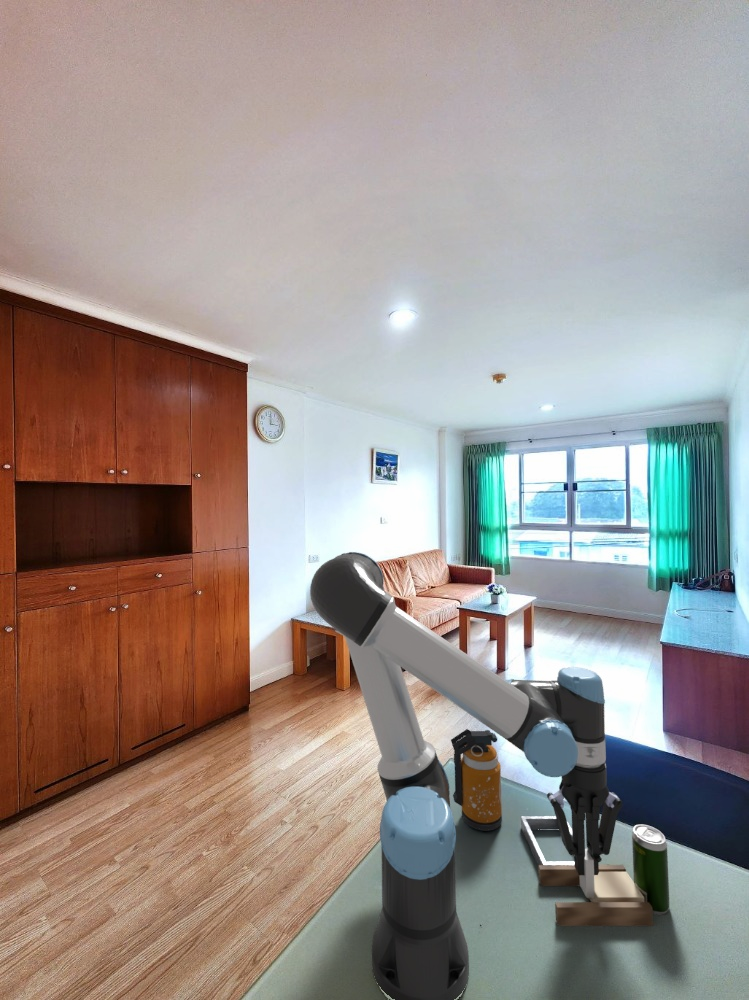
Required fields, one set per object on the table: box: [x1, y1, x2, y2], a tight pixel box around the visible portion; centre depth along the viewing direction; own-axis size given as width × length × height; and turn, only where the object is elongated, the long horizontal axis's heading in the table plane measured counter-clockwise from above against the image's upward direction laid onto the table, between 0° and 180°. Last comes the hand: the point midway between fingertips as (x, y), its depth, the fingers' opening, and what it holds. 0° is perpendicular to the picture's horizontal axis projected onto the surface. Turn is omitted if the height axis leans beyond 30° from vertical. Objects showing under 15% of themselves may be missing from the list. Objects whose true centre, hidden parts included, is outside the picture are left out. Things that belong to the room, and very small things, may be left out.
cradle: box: [520, 815, 574, 866], centre depth 90 cm, size 14×10×2 cm
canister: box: [450, 728, 503, 831], centre depth 100 cm, size 9×11×20 cm
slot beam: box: [537, 864, 654, 927], centre depth 78 cm, size 16×9×3 cm, turn 89°
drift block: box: [588, 871, 644, 902], centre depth 78 cm, size 8×6×3 cm
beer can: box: [631, 823, 670, 916], centre depth 78 cm, size 5×5×12 cm
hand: (587, 891), depth 78 cm, fingers closed
